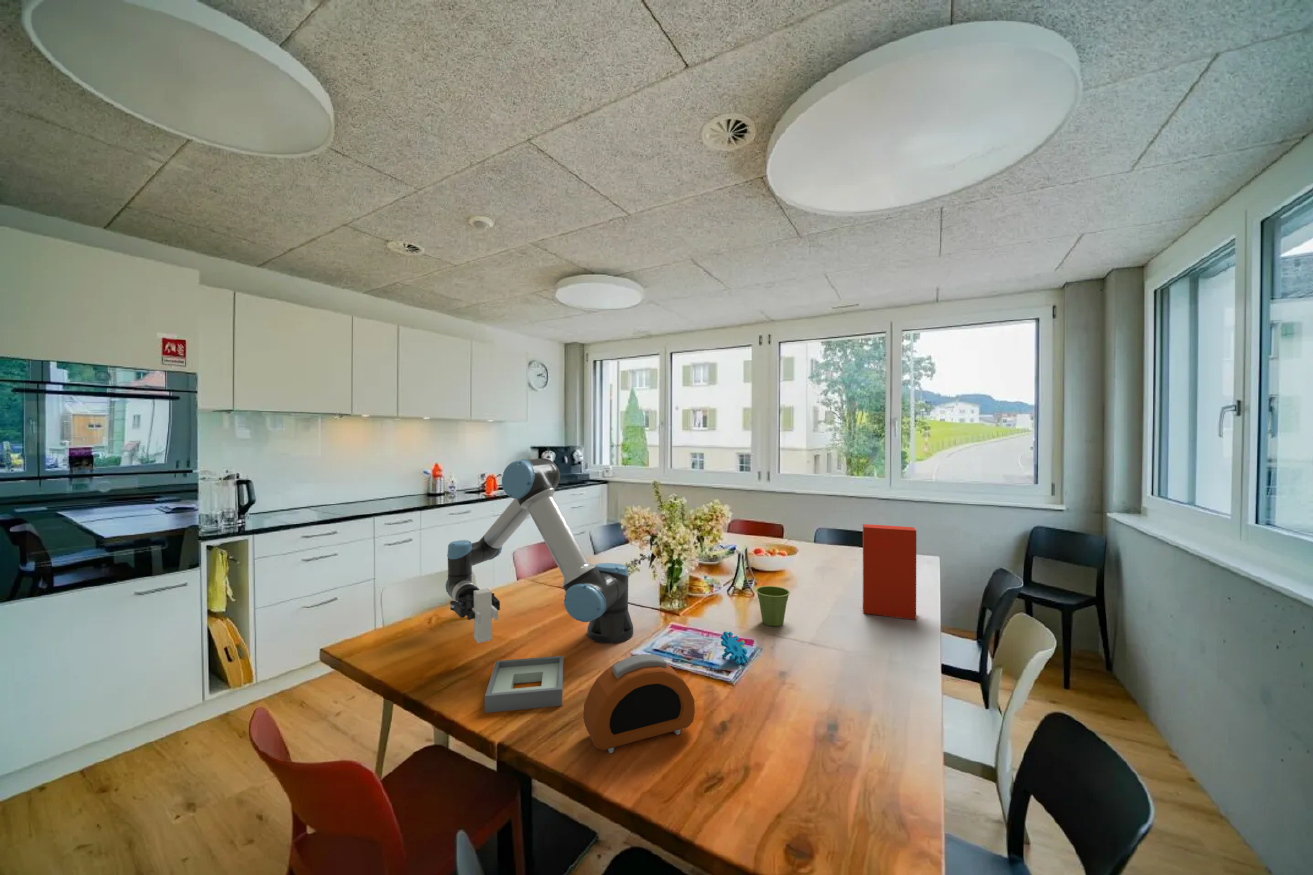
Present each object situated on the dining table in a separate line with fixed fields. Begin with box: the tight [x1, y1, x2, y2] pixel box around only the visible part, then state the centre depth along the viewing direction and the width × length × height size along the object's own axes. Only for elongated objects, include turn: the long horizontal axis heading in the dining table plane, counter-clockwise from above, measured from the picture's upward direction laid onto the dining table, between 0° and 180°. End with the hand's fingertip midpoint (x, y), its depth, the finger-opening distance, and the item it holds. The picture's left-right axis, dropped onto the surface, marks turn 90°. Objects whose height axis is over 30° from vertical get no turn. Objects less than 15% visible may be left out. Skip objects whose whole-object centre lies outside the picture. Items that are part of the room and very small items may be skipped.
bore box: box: [484, 655, 564, 714], centre depth 124 cm, size 18×18×4 cm
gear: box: [720, 631, 749, 665], centre depth 142 cm, size 11×6×10 cm
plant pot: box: [755, 585, 791, 627], centre depth 169 cm, size 12×12×11 cm
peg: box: [473, 588, 493, 644], centre depth 140 cm, size 4×4×14 cm
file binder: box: [862, 523, 917, 621], centre depth 178 cm, size 8×17×32 cm, turn 69°
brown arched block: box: [582, 653, 696, 754], centre depth 106 cm, size 23×9×17 cm, turn 114°
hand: (488, 617), depth 136 cm, fingers closed on peg, 4 cm apart
